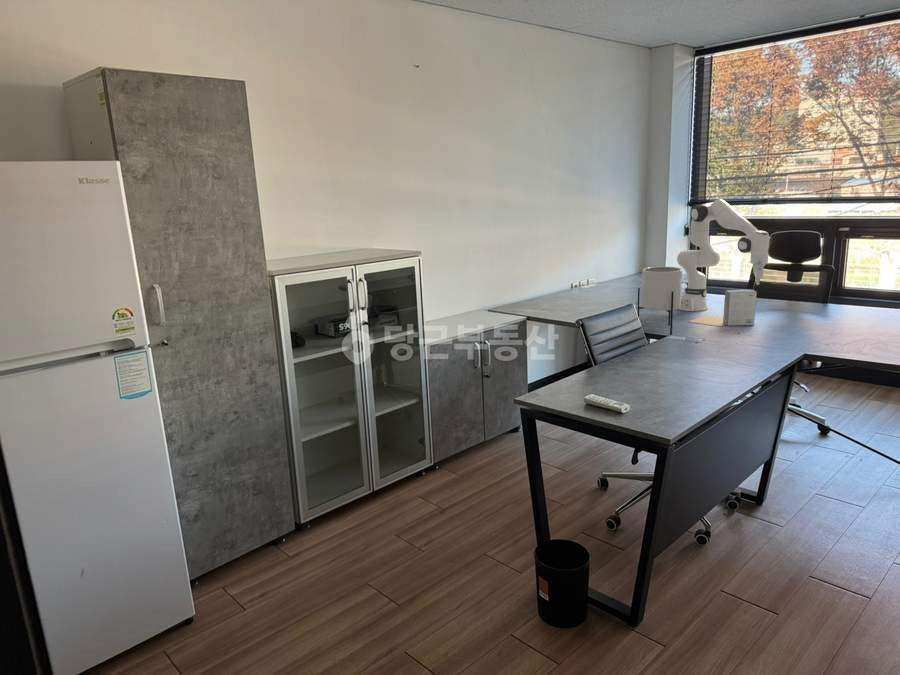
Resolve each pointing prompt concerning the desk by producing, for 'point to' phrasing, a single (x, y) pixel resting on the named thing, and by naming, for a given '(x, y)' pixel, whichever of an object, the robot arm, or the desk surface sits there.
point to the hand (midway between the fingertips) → (757, 284)
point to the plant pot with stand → (661, 290)
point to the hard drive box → (739, 307)
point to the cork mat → (709, 321)
